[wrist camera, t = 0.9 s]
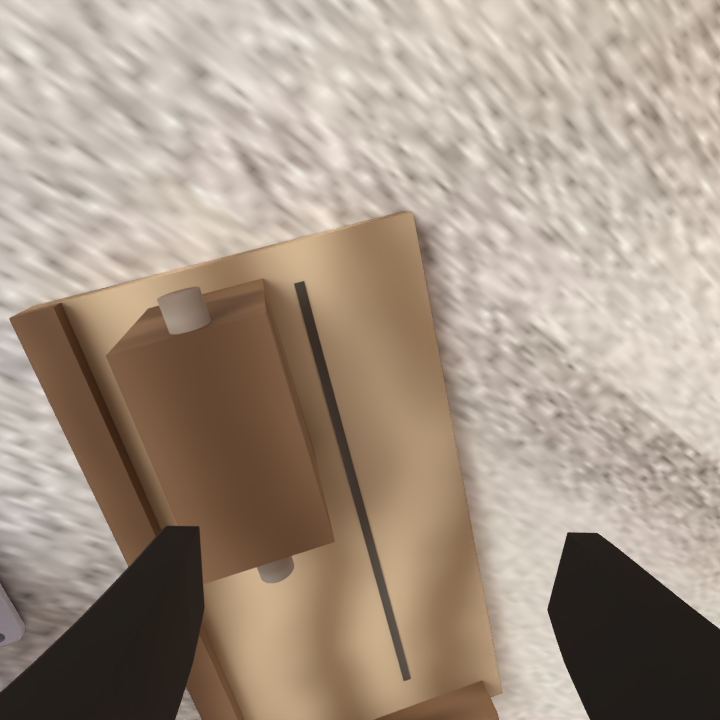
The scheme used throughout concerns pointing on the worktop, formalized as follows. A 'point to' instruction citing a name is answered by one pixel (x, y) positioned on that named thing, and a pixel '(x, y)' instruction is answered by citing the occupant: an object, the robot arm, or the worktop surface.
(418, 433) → the board
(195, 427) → the block with white pegs
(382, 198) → the worktop surface
